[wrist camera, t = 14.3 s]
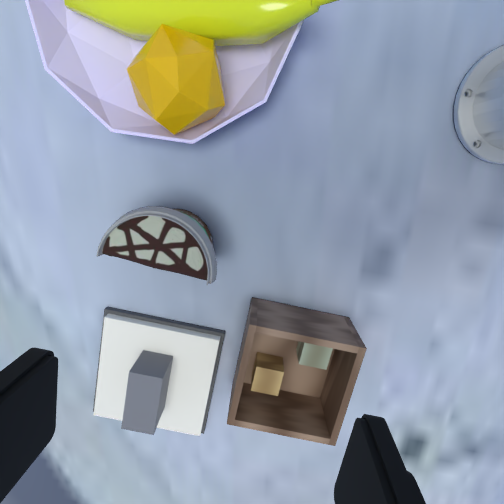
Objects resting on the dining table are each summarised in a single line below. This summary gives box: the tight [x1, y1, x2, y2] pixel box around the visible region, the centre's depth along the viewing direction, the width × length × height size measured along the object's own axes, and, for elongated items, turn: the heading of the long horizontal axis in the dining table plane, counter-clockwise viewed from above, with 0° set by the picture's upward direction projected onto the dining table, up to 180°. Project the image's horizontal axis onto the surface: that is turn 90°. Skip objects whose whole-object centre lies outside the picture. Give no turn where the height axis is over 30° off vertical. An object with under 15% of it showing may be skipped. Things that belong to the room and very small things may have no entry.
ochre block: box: [251, 352, 284, 396], centre depth 45 cm, size 4×4×4 cm
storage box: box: [227, 297, 366, 446], centre depth 43 cm, size 13×13×8 cm
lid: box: [94, 313, 221, 436], centre depth 45 cm, size 15×15×6 cm
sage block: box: [296, 341, 333, 370], centre depth 44 cm, size 4×4×4 cm
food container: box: [97, 206, 217, 285], centre depth 39 cm, size 12×6×10 cm, turn 75°
